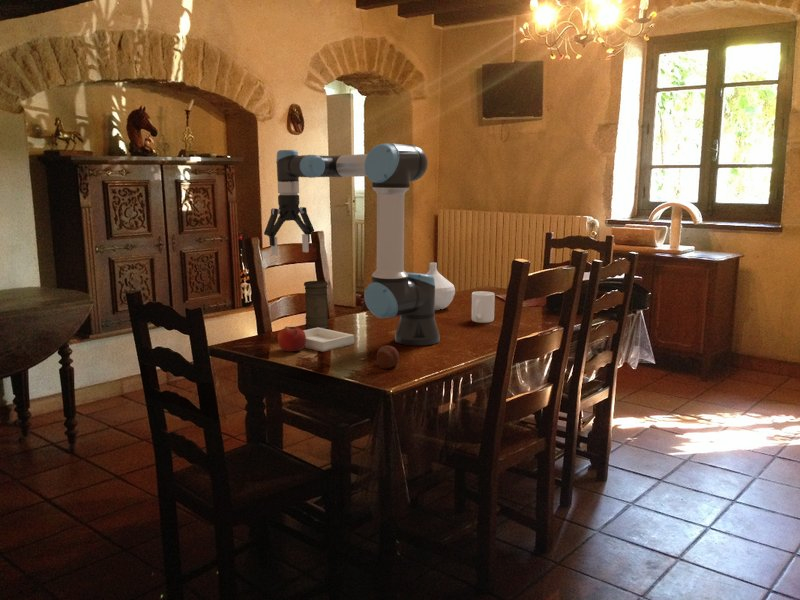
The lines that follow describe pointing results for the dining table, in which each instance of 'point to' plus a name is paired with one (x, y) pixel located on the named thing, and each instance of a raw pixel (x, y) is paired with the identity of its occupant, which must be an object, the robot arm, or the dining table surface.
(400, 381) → the dining table surface
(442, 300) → the vase
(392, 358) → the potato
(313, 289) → the container
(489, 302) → the mug
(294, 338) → the tomato
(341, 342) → the dish
